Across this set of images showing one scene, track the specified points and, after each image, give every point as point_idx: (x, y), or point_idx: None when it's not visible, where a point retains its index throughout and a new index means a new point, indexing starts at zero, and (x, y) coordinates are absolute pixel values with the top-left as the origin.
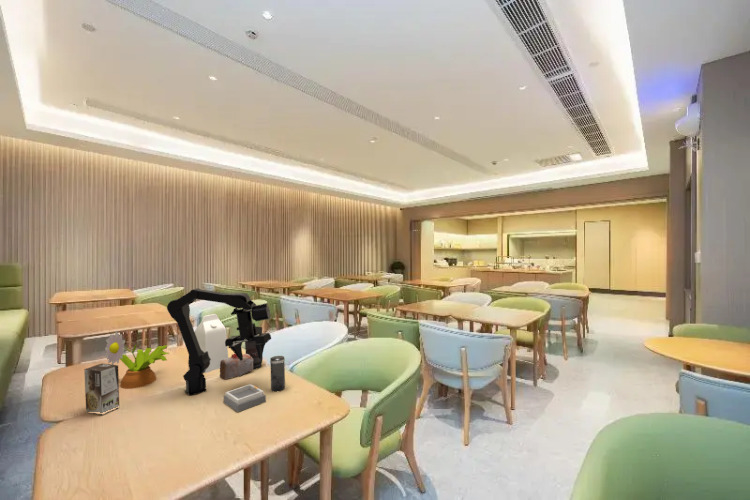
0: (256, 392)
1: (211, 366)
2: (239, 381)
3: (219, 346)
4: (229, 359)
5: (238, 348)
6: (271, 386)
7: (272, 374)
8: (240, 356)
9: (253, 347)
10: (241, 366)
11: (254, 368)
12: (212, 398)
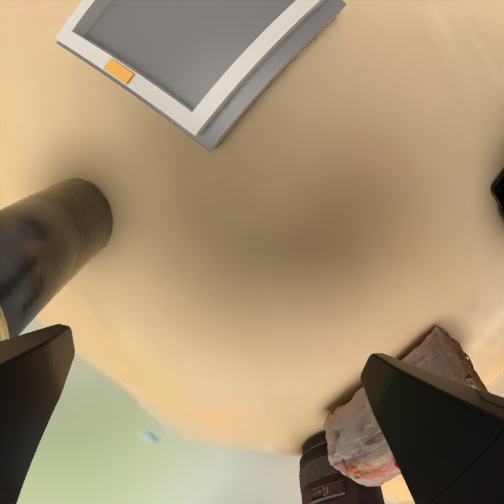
0: (120, 59)
1: None
2: (361, 314)
3: None
4: None
5: (463, 483)
6: (86, 196)
7: (24, 213)
8: (397, 389)
9: None
10: None
11: (325, 433)
12: (427, 80)
